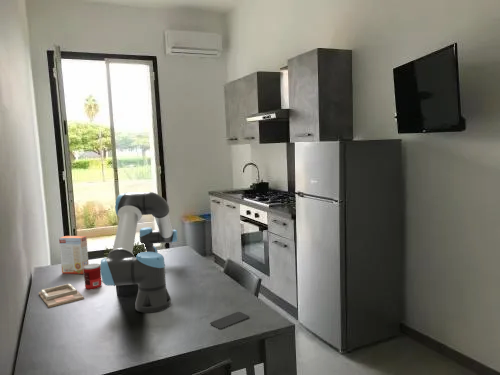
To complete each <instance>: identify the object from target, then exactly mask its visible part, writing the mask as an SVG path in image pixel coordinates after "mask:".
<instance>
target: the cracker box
mask: <svg viewBox="0 0 500 375" xmlns="http://www.w3.org/2000/svg"><path fill="white" fill-rule="evenodd" d="M58 240H59V253H60V254H59V255H60V263H61V273H62V274H69V275H84V266H86V265H89V253H88V252H89V250H88V239H87V236H86V235H65V236H64V235H63V236H61V237H59V238H58Z"/></svg>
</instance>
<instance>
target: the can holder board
mask: <svg viewBox="0 0 500 375" xmlns="http://www.w3.org/2000/svg"><path fill="white" fill-rule="evenodd" d="M40 290H41V291H38V296H39V298H41V300H42V301H43V303H45V305H46V306H47V308H49V309H50V308H54V307H56V306H57V307H58V306H60V305H65V304H70V303H74V302H78V301H82V300H85V296H83V295H82V293H80V291H78V289H76V288H75V287H74V286H73V285H72V284H71V283H65V284H60V285H56V286H52V287H48V288H42V289H40Z"/></svg>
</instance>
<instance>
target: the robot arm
mask: <svg viewBox="0 0 500 375" xmlns="http://www.w3.org/2000/svg"><path fill="white" fill-rule="evenodd" d="M114 209H115V214H116V215H117V216H118V218H119V221H118V224H117V229H116V233H115V239H114V244H113V248H112V250H110V251H109V252H108V254H107V258H106V257H105V258H104V257H103V258H102V259H101V260H100V263H99V264H100V269H101V281H102V282H103V284H104V285H105V286H106V287H107V286H109V287H111V286H114V287H115V286H124V285H125V286H128V285H137V287H138V288H137V289H138V291H137V294H136V300H135V303H134V305H135V307H134V308H135V310H136V311H137V312H140V313H144V314H150V313H152V314H153V313H157V312H161V311H162V312H163V311H164V310H167V309H168V308H170V307H171V305H172V299H171V296H170V293H169V291H168V289H167V284H166V282H167V281H166V280H167V279H166V263H165V256H164V255H163V254H162V253H159V252H158V249H157V247H156V246H154V244H166V243H167V244H169V243H170V244H171V243H172V244H173V243H177V241H178V240H179V236H178V234H179V233H178V230H177V229H173V226H172V222H171V218H170V214H169V213H170V206H169V204H168V202H167V201H166V199H165V198H164V197H162V196H161V195H160V194H157V193H156V192H151V191H145V192H144V191H143V192H124V193H123V192H122V193H120V194H117V196H116V199H115V206H114ZM145 215H146V216H148V215H152V217H153V218H154V219H155V222H156V226H157V228H158V230H153V227H150V226H149V227H147V226H146V227H141V228H140V229H139V243H140V242H141V243H144V244H145V247H146V249H147V252H140V253H138V254H137V255H136V257H135V256H134V254H133V252H134V251H133V250H134V244H135V240H136V233H137V227H138V222H139V221H140V220H141V219H142V216H145Z"/></svg>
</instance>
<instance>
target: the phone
mask: <svg viewBox="0 0 500 375" xmlns="http://www.w3.org/2000/svg"><path fill="white" fill-rule="evenodd" d="M245 319H246V320H249V319H250V316H249V315H247V313H246V314H245V313H243V312H242V311H236V312H234V313H230V314H228V315H225V316H223V317H221V318H218V319H216V320H213V321H210V323H209V325H210V324H211V325H210V326H211V327H213V328H215V327H216V328H215V329H217V328H218V329H217V330H223V328H224V329H226V328H228V326H229V327H231V326H233V324H234V325H236V324H239V323H241V322H243V320H244V321H246V320H245ZM240 321H241V322H240ZM238 322H239V323H238ZM235 323H236V324H235ZM225 327H226V328H225Z"/></svg>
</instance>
